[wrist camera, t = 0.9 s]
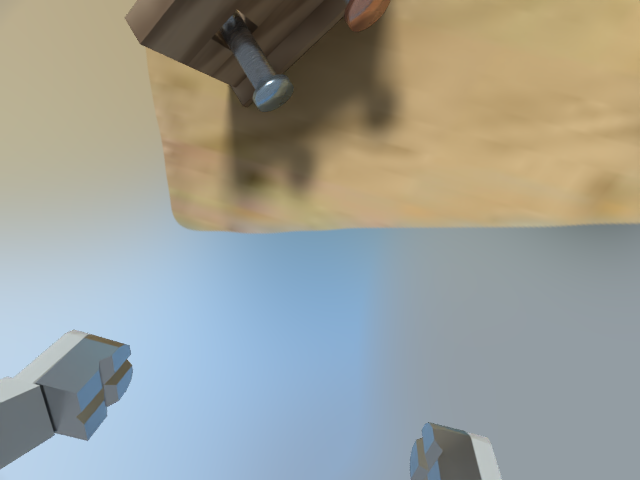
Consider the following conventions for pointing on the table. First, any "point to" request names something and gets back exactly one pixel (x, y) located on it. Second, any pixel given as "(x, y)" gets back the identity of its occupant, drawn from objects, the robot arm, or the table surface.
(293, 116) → the table surface
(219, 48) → the panel
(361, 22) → the copper knobbed rod
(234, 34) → the grey metal rod
